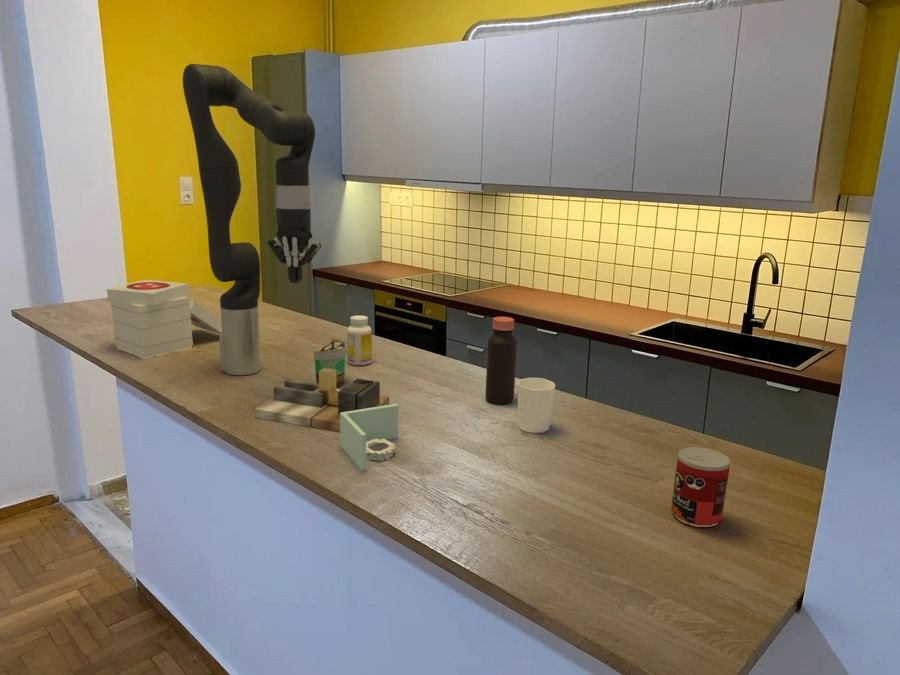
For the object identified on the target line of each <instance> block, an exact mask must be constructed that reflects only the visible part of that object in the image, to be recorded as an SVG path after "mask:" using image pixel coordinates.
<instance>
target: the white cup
mask: <svg viewBox="0 0 900 675" xmlns="http://www.w3.org/2000/svg"><path fill="white" fill-rule="evenodd" d="M555 390H556V383H555V382H554V381H552V380H548V379H546V378H542V377H526V378H522V379H519V380H518V381H517V417H518V426H517V427H518V428H519V429H520V430H521V431H524V432H527V433H532V434H542V433H546V432H547V431H549V430H550V427H551V426H550V425H551V417H552V413H553V407H554V397H555ZM545 431H546V432H545Z"/></svg>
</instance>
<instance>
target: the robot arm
mask: <svg viewBox="0 0 900 675" xmlns="http://www.w3.org/2000/svg"><path fill="white" fill-rule="evenodd" d="M182 88H183V89H182V90H183V93H184V98H185V102H186V108H187V111H188V115H189V119H190V124H191V128H192V133H193V138H194V142H195V150H196V155H197V163H198V164H197V165H198V170H199V171H198V172H199V173H198V174H199V178H200V179H199V180H200V184H201V191H202V196H203V200H204V201H203V202H204V207H205V216H206V225H207V240H208V257H209V264H210V268H211V272H212V274H213V276H214V277H215V279H216V280H217V281H219V282H221V283H228V282H234V284H233V285H232V286H231V287H230V288H229V289H228V290H227V291H225V292H224V293H222V294H221V295H220V297H219V307H220V319H221V322H222V334H219V336H218V342H219V344H218V345H219V357H220V370H221V372H224V373H225V374H228V375H230V376H231V375H232V376H247V375H252V374H256V373H259V372H260V371H261V370H262V363H261V362H262V360H261V359H262V358H261V341H260V340H261V339H260V319H259V317H260V316H259V298H260V294H261V260H260V254H259V252H258V250H257V248H256V247H255V245H253V244H252V243H251V242H248V241H247V242H246V241H245V242H244V241H243V242H233V243H232V242H231V231H230V230H231V229H230V226H231V219H232V216H233V215H234V214H233V213H234V211H235V208H236V206H237V203H238V201H239V199H240V196H241V190H242V184H241V175H240V170H239V167H240V166H239V163H238V160H237V157H236V156H235V154H234V152H233V150H232V149H231V148H230V147H229V145H228V143H227V142H226V141H225V139H224V138H223V137H222V136H221V134H220V133H219V131H218V129H217V128H216V125H215V123H214V119H213V117H212V113H211V107H229V108H233V109H236V111H237V114H238V115H239V117H240V118H241V119H242V120H243V121H244V122H246V123H247V124H248V125H249V126H251V127H253V128H256V129H257V130H259V131H260V133H261V134H262V135H263V137H265V139H267V140H268V142H270V143H272V144H275V145H278V146H283V147H284V146H288V147H289V146H290V150H289V153H288V155H286V156H282V157H280V158H277V159H276V161H275V184H276V185H275V194H274V195H275V218H276V219H275V220H276V223H275V224H276V227H277V231H276V232H275V237H274V238H273V239H271V240H268V241H267V245H268V246H269V248H270V249H271V250H272V252H273V253H274V255H275V257H276V258H277V259H278V261H279V262H280V263H281V264H285V265H286V266H287V276H288V280H289V282H290V283H291V284H299V283H301V281H302V280H303V267H304V265H308V264H310V263H311V261H312V260H313V259H314V257H315V256H316V255H317V253H318V251H319V250H320V249H321V248H322V243H320V242H316V241H315V240H314V239H313V234H312V233H311V227H312V221H311V220H312V219H311V214H312V213H311V194H310V186H309V184H310V183H309V181H310V180H309V164H310V161H311V156H312V152H313V147H314V143H315V138H316V127H315V124H314V121H313V119H312V118H311V116H310V115H309V114H307V113H305V112H300V111H299V112H297V111H286V110H285V111H284V110H283V108H282V107H281V106H280V105H279V104H278V103H277V102H275V101H273V100H271V99H270V98H267V97H266V96H264V95H261V94H260V93H258V92H256V91H254V90H253V89H251V88H250V87H249V86H248V85H246V84H245V83H244V82H242V80H240V78H238V77H237V76H236V75H235V74H234V73H233V72H231V71H230V70H228V69H227V68H225V67H222V66H219V65H210V64H201V63H200V64H199V63H190V64H187V65H186V66H185V68H184V70H183V72H182ZM306 248H307V249H308V250H306Z"/></svg>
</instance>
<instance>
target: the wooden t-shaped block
mask: <svg viewBox="0 0 900 675" xmlns="http://www.w3.org/2000/svg"><path fill="white" fill-rule="evenodd" d="M336 389H337V388H336V369H329V368H323V369H321V370H319V388H318V389H316V390H315V391H313V392H320V393H324V403H326V404H332V405H338V392H339V391H336Z"/></svg>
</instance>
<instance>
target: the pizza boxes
mask: <svg viewBox="0 0 900 675" xmlns="http://www.w3.org/2000/svg"><path fill="white" fill-rule="evenodd" d="M189 287H190V286H189V283H185V282H175V281H174V282H172V281H162V280H154V279H153V280H150V279H142V280H137V281H135V282H130V283H126V284H122V285H118V286H114V287H110V288H107V289H106V294H107V301H108V302H110V304H111V313H112V315H111V316H112V323H113V331H114V333H113V334H114V342H115V343H114V344H115V348H116V347H119V348H121V349H124V350H127V351H130V352H132V353H135V354H137V355H140V356H142V357H148V356H152V355H156V354H160V353H165V352H170V351H174V350H178V349H183V348H186V347H191V346H193V347H194V341H193V331H192V327H193V326H195V327H196V328H199V329H202V330H206V331H209V332H212V333H215V334H219V335H222V322H221V318H219V317H218V316H216V315H215V314H214V313H212V312H210V310H207V309H206V308H205V307H203V306H202V305H200V304H199V303H197V302H196V301H194V300H191V299H190V297H189V295H190V288H189ZM187 296H188V297H187ZM192 325H193V326H192Z"/></svg>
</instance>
